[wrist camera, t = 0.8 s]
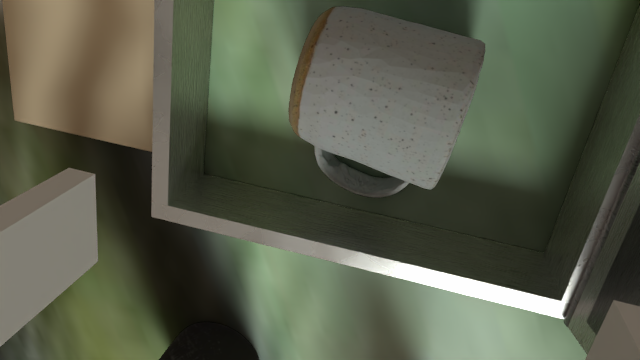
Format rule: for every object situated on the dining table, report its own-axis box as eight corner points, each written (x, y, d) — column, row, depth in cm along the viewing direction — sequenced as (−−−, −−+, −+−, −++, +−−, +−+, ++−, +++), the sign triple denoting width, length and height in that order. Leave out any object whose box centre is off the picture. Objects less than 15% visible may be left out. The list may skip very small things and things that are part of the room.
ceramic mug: (336, -8, 28) (301, 5, 22) (484, 31, 28) (496, 58, 21) (297, 164, 33) (257, 221, 26) (422, 202, 32) (416, 271, 25)
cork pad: (20, 118, 36) (14, 120, 35) (0, -93, 31) (-8, -94, 30) (183, 155, 34) (178, 158, 34) (191, -61, 29) (186, -61, 28)
